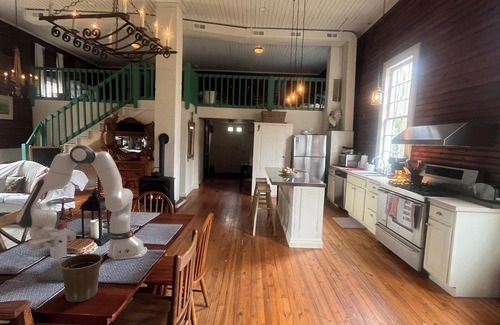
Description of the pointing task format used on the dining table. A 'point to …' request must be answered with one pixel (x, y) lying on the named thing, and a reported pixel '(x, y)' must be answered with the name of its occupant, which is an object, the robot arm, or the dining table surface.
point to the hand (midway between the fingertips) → (59, 243)
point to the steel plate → (51, 274)
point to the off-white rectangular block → (58, 244)
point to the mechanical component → (61, 224)
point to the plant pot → (81, 276)
